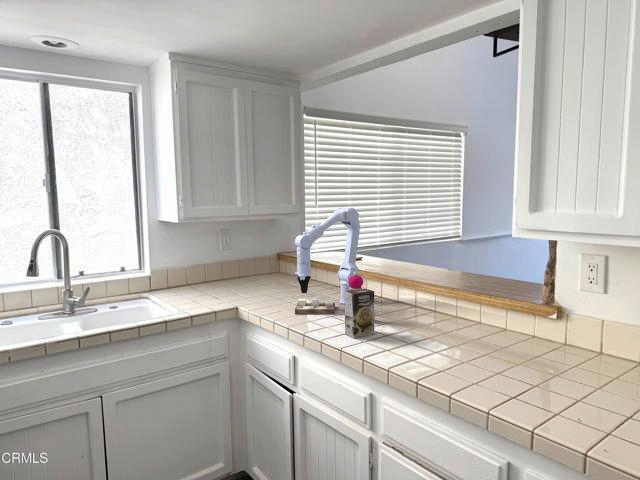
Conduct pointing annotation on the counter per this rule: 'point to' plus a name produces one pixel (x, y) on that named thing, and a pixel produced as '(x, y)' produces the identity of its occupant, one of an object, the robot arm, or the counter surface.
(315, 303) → the middle button
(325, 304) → the button
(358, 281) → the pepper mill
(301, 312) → the button board
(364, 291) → the coffee box
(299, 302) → the button
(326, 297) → the counter surface
